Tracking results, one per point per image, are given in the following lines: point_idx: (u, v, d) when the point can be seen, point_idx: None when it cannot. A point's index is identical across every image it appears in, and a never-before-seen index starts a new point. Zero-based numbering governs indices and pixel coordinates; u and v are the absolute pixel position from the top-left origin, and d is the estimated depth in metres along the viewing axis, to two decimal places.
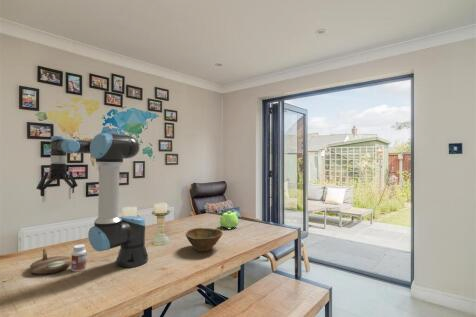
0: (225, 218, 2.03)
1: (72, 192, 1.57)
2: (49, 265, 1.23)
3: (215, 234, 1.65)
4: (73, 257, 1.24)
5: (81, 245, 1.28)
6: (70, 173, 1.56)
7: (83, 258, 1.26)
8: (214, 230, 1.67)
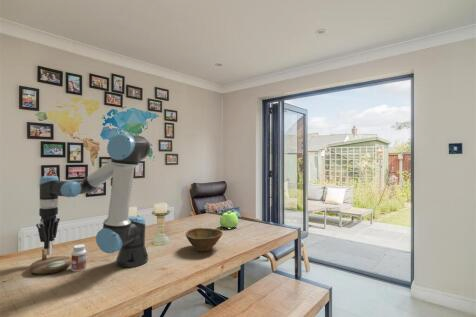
0: (225, 218, 2.03)
1: None
2: (50, 265, 1.23)
3: (215, 234, 1.65)
4: (73, 257, 1.24)
5: (81, 245, 1.28)
6: (58, 220, 1.37)
7: (82, 258, 1.26)
8: (214, 230, 1.67)
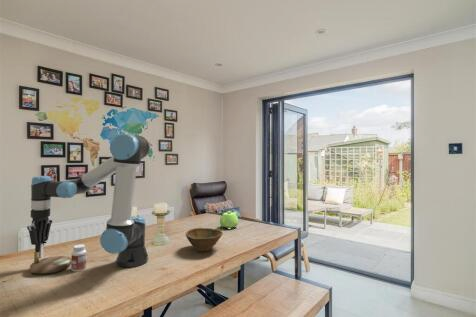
0: (225, 218, 2.03)
1: None
2: (56, 263, 1.25)
3: (215, 234, 1.65)
4: (73, 257, 1.24)
5: (81, 245, 1.28)
6: (50, 222, 1.32)
7: (82, 258, 1.26)
8: (214, 230, 1.67)
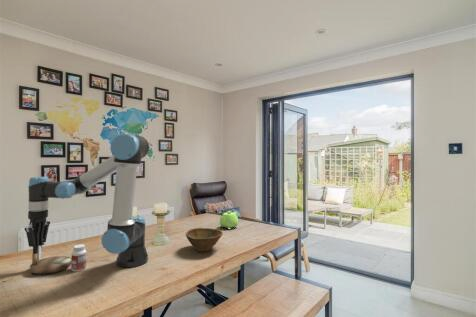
0: (225, 218, 2.03)
1: (40, 250, 1.27)
2: (59, 262, 1.26)
3: (215, 234, 1.65)
4: (73, 257, 1.24)
5: (81, 245, 1.28)
6: (48, 223, 1.31)
7: (82, 258, 1.26)
8: (214, 230, 1.67)
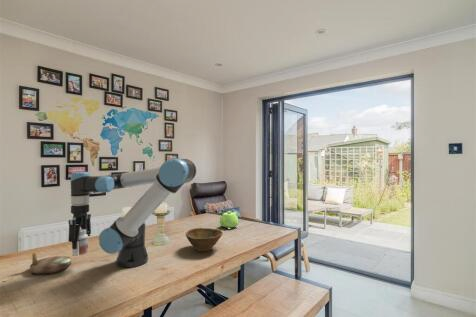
0: (225, 218, 2.03)
1: None
2: (59, 262, 1.26)
3: (215, 234, 1.65)
4: None
5: (82, 229, 1.27)
6: (89, 216, 1.32)
7: (84, 242, 1.25)
8: (214, 230, 1.67)
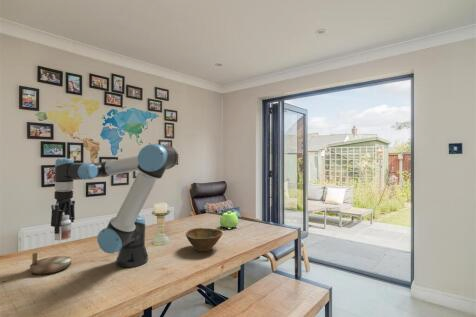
0: (225, 218, 2.03)
1: None
2: (59, 262, 1.26)
3: (215, 234, 1.65)
4: None
5: (65, 215, 1.30)
6: (73, 203, 1.35)
7: (67, 227, 1.28)
8: (214, 230, 1.67)
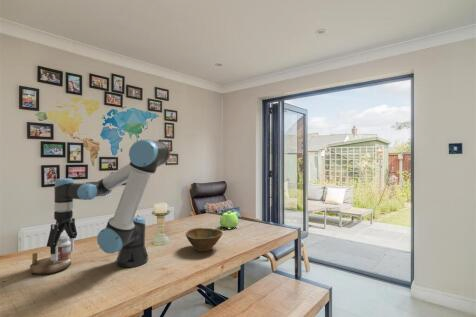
0: (225, 218, 2.03)
1: None
2: (59, 262, 1.26)
3: (215, 234, 1.65)
4: None
5: (65, 237, 1.30)
6: (73, 220, 1.35)
7: (67, 249, 1.28)
8: (214, 230, 1.67)
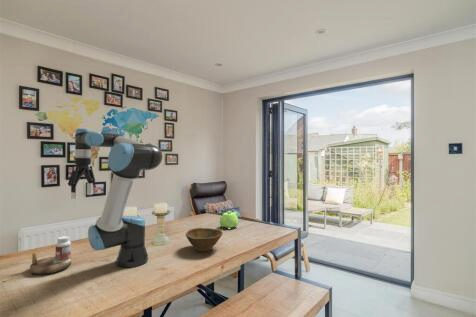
0: (225, 218, 2.03)
1: (91, 187, 1.52)
2: (59, 262, 1.26)
3: (215, 234, 1.65)
4: (57, 248, 1.26)
5: (65, 237, 1.30)
6: (91, 168, 1.50)
7: (66, 249, 1.28)
8: (214, 230, 1.67)
